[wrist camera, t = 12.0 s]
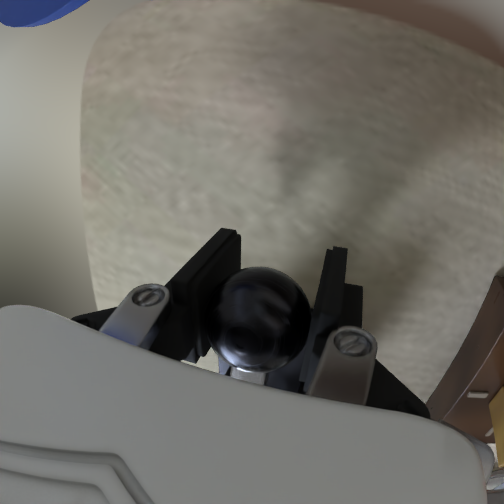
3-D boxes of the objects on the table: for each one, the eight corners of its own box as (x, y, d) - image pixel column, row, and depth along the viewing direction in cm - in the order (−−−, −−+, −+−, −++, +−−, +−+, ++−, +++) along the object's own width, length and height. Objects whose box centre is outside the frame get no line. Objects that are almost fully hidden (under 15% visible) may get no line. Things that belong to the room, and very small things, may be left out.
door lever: (230, 250, 11) (188, 270, 8) (323, 266, 10) (316, 296, 7) (210, 483, 14) (187, 523, 10) (267, 499, 13) (250, 543, 10)
